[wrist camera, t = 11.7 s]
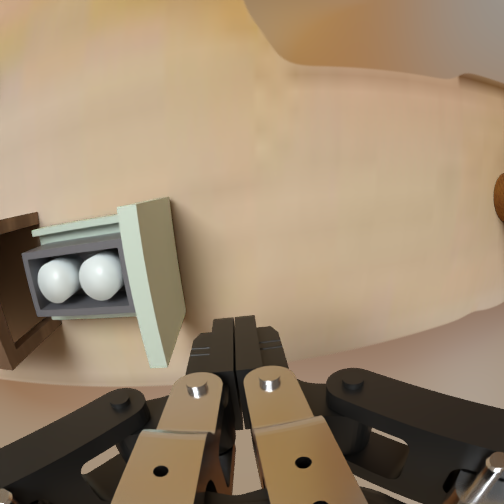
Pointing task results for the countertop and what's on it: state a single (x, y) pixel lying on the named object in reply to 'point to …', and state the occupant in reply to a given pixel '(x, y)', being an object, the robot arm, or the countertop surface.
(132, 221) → the pullout shelf
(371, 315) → the countertop surface
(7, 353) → the small wooden cabinet
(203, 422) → the robot arm
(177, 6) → the countertop surface
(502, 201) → the disposable coffee cup
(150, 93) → the countertop surface
